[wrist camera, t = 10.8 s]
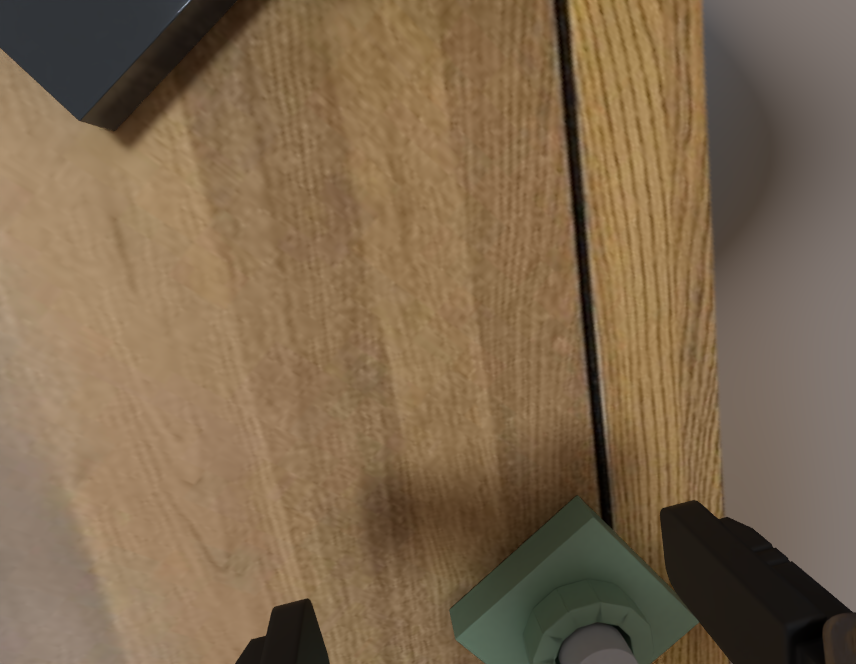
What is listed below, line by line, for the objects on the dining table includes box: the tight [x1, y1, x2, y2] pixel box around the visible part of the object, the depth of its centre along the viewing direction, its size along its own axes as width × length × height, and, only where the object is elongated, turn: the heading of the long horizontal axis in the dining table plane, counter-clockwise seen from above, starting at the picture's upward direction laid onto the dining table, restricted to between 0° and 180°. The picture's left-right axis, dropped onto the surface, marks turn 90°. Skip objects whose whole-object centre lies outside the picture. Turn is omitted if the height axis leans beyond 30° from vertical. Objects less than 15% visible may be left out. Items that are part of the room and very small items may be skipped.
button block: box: [449, 495, 699, 664], centre depth 30 cm, size 10×10×4 cm
